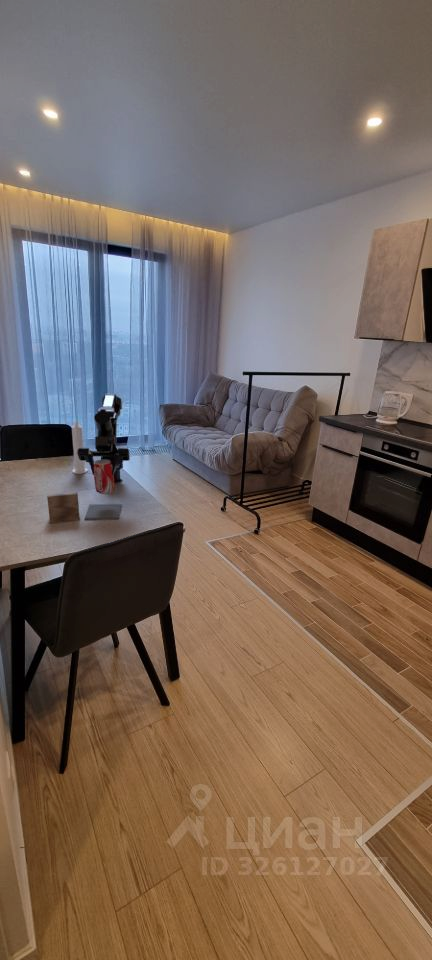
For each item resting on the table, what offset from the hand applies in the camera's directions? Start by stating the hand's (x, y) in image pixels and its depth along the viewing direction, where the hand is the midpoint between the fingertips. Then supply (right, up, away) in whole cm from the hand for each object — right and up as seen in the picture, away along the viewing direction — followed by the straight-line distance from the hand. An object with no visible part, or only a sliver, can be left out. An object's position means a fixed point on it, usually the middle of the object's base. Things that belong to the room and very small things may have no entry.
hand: (103, 474), depth 146 cm
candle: (-23, +2, +42) cm, 48 cm away
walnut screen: (-12, -16, -5) cm, 21 cm away
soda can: (0, -7, +4) cm, 8 cm away
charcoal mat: (0, -14, +1) cm, 14 cm away
